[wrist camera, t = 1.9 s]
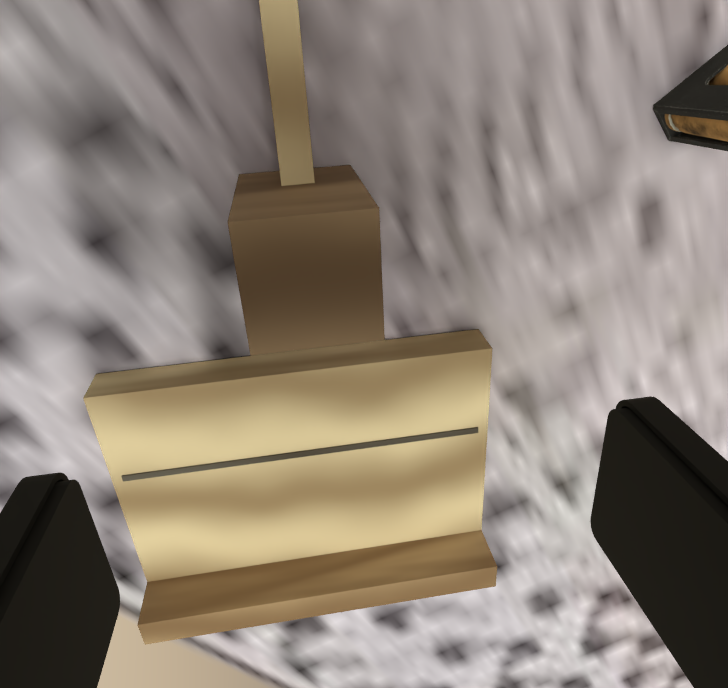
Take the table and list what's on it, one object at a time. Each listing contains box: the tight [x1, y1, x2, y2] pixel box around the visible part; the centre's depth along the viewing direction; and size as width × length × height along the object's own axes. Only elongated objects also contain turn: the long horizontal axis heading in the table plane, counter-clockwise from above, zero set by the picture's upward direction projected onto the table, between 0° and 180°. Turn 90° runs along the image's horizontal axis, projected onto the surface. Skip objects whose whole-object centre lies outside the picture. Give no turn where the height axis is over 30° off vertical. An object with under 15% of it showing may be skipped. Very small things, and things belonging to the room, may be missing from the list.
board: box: [83, 329, 497, 644], centre depth 28 cm, size 13×18×4 cm
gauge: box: [228, 0, 385, 356], centre depth 19 cm, size 12×4×7 cm, turn 4°
